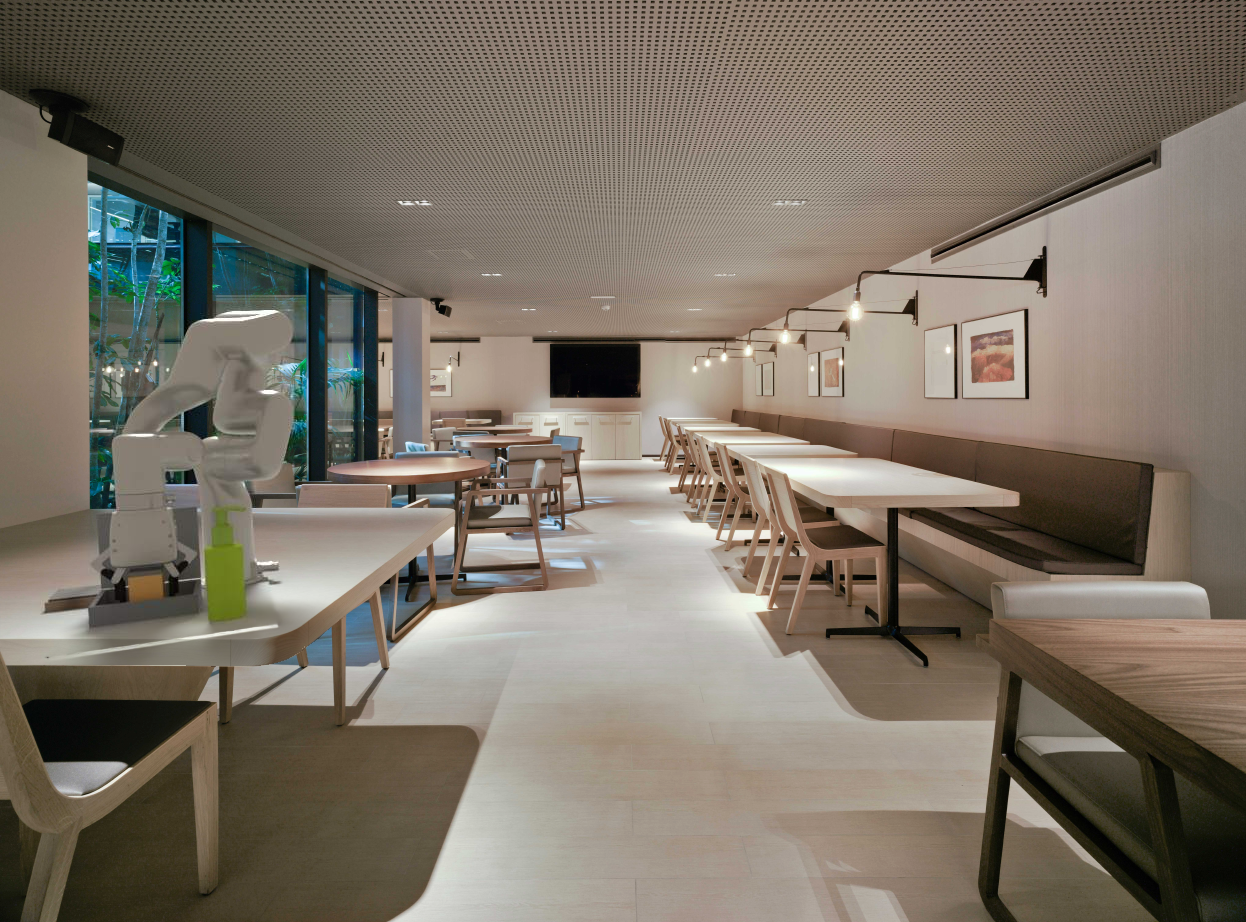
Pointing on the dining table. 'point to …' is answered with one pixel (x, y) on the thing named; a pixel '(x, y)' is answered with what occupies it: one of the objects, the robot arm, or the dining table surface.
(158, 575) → the block
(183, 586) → the case
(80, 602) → the pad
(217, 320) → the robot arm
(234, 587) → the soap dispenser
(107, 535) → the lid
